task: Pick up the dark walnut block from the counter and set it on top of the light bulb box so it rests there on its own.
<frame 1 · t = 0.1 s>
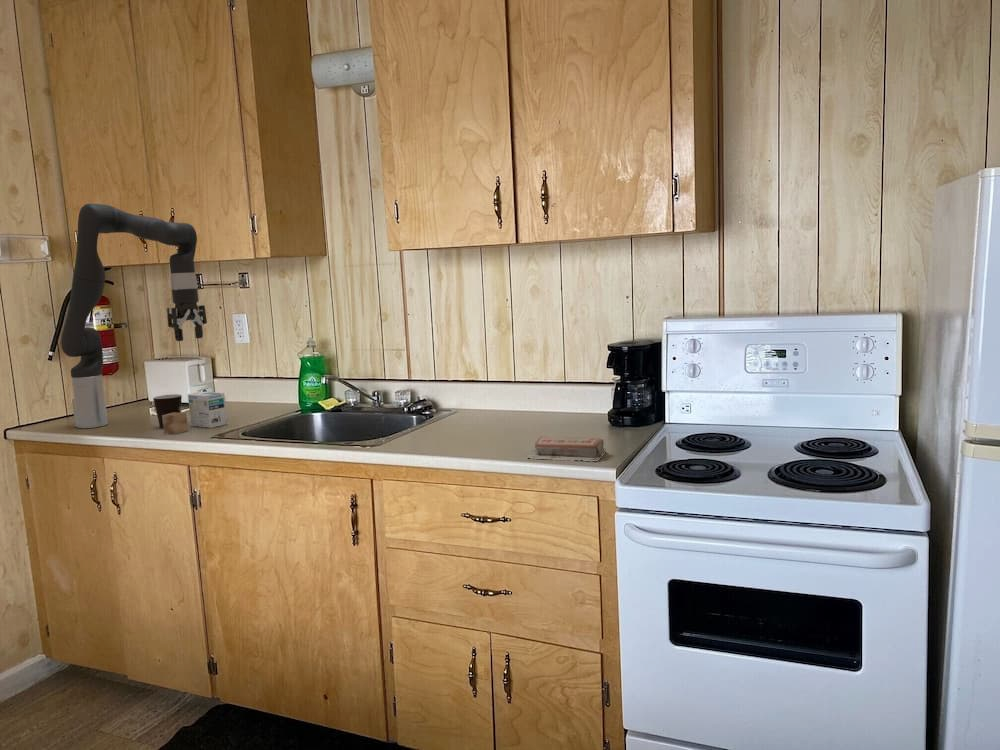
hand: (189, 339, 240), 29 cm above the worktop, tool pointing down, fingers open, 8 cm apart
coffee mug: (173, 426, 254), on the worktop
light bulb box: (209, 426, 251), on the worktop
walnut block: (176, 432, 242), on the worktop
packaged product: (567, 458, 189), on the worktop
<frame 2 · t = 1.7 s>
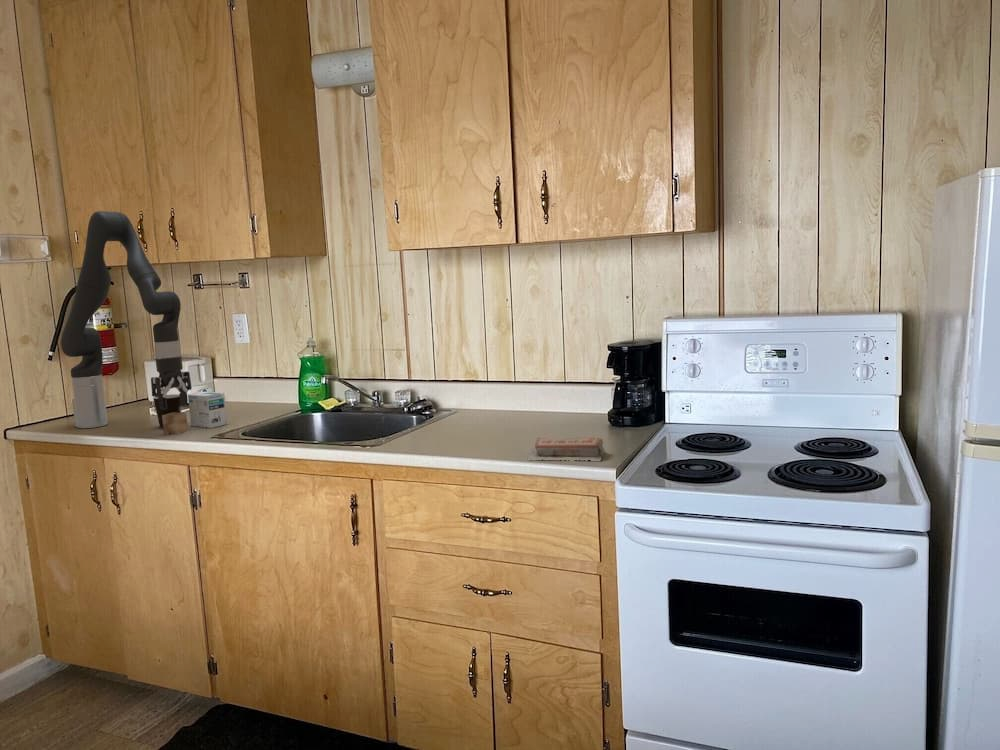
hand: (174, 407, 241), 8 cm above the worktop, tool pointing down, fingers open, 8 cm apart
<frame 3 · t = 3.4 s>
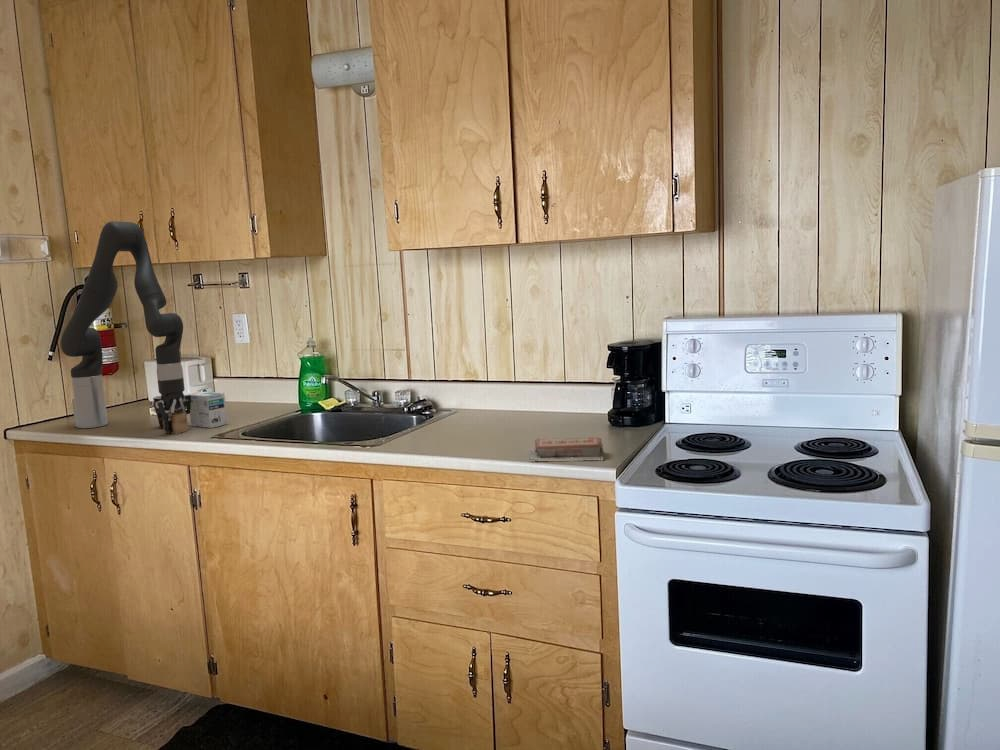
hand: (175, 430, 242), 1 cm above the worktop, tool pointing down, fingers closed on walnut block, 5 cm apart
walnut block: (176, 432, 242), on the worktop, touching gripper
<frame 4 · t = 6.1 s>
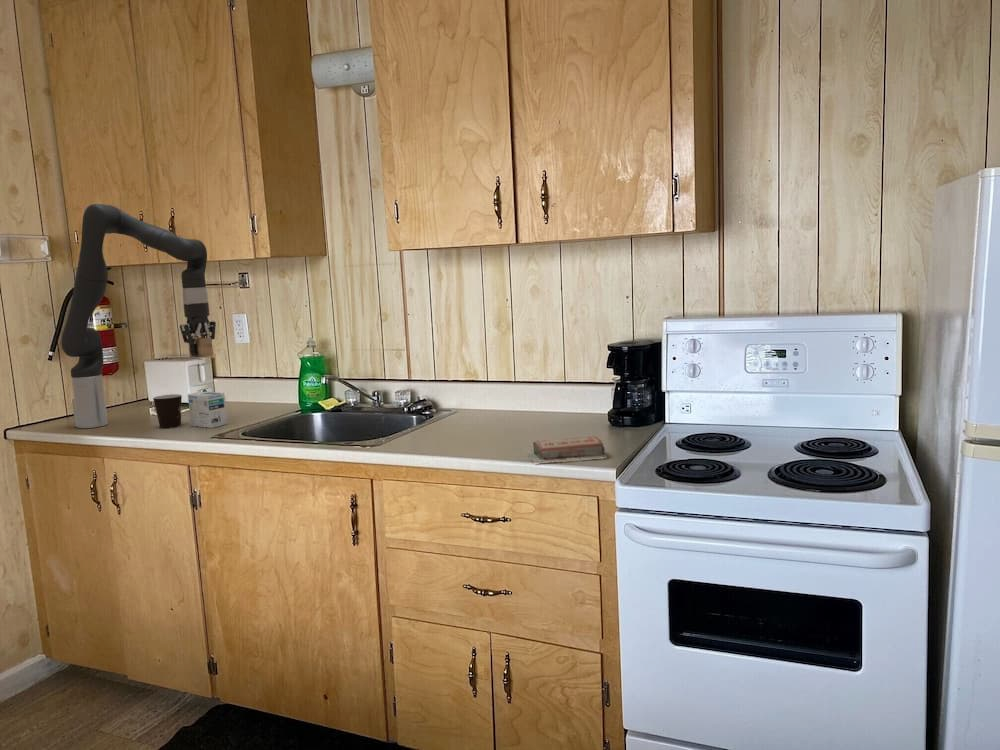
hand: (201, 354, 248), 24 cm above the worktop, tool pointing down, fingers closed on walnut block, 5 cm apart
walnut block: (201, 356, 248), point 23 cm above the worktop, touching gripper
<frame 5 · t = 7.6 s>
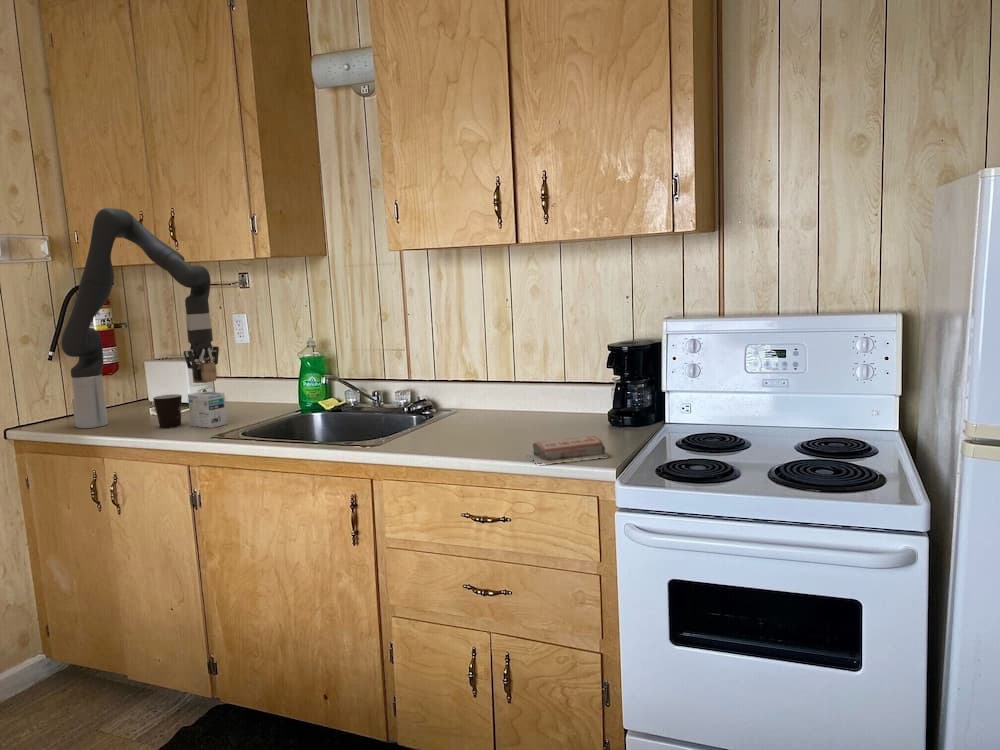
hand: (204, 379, 249), 15 cm above the worktop, tool pointing down, fingers closed on walnut block, 5 cm apart
walnut block: (205, 381, 249), point 14 cm above the worktop, touching gripper
when the fingers open (13 cm above the worktop, at t = 9.0 s): walnut block drops 1 cm, resting on light bulb box.
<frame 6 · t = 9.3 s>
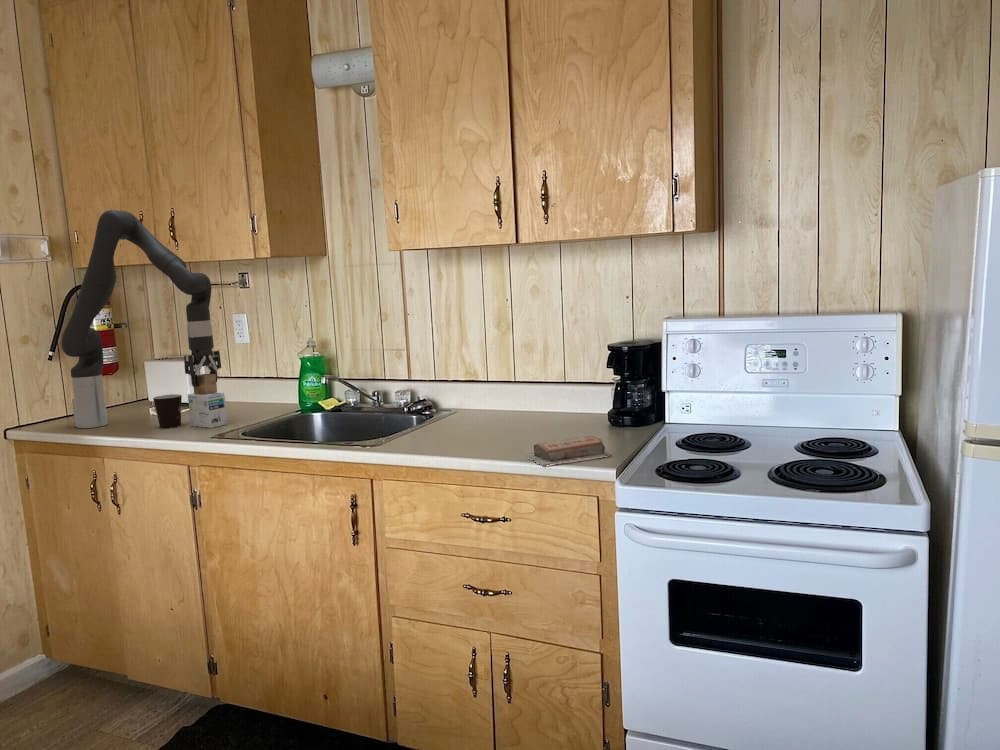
hand: (205, 384, 250), 14 cm above the worktop, tool pointing down, fingers open, 8 cm apart
light bulb box: (209, 426, 251), on the worktop, touching walnut block
walnut block: (205, 393, 250), point 11 cm above the worktop, touching light bulb box
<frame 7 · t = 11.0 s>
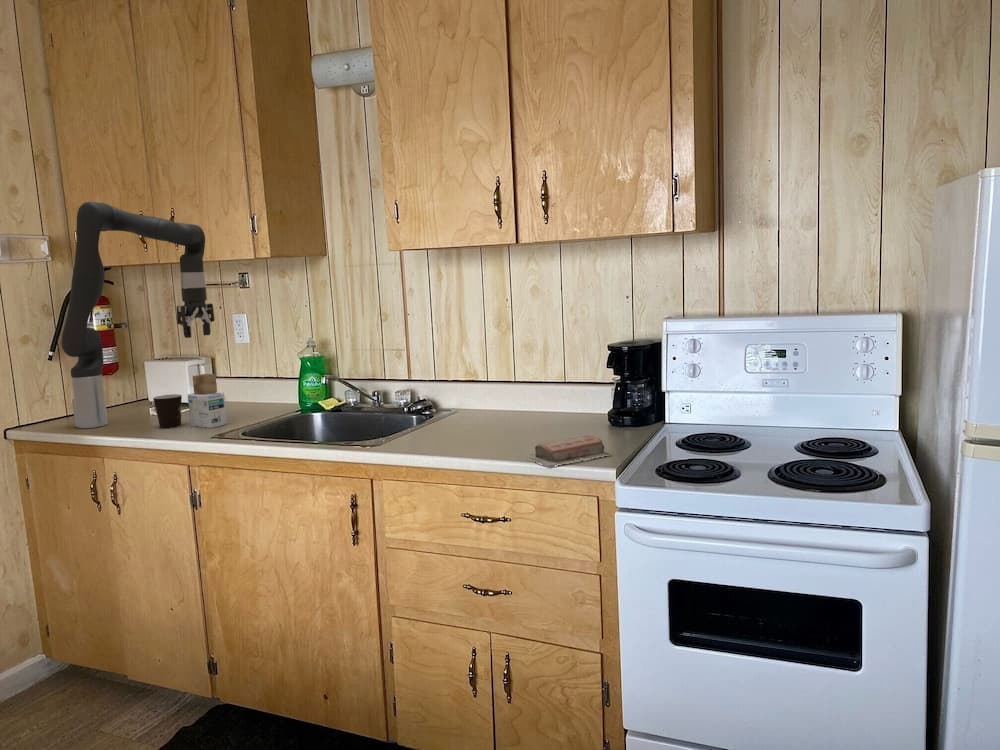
hand: (197, 336, 250), 29 cm above the worktop, tool pointing down, fingers open, 8 cm apart
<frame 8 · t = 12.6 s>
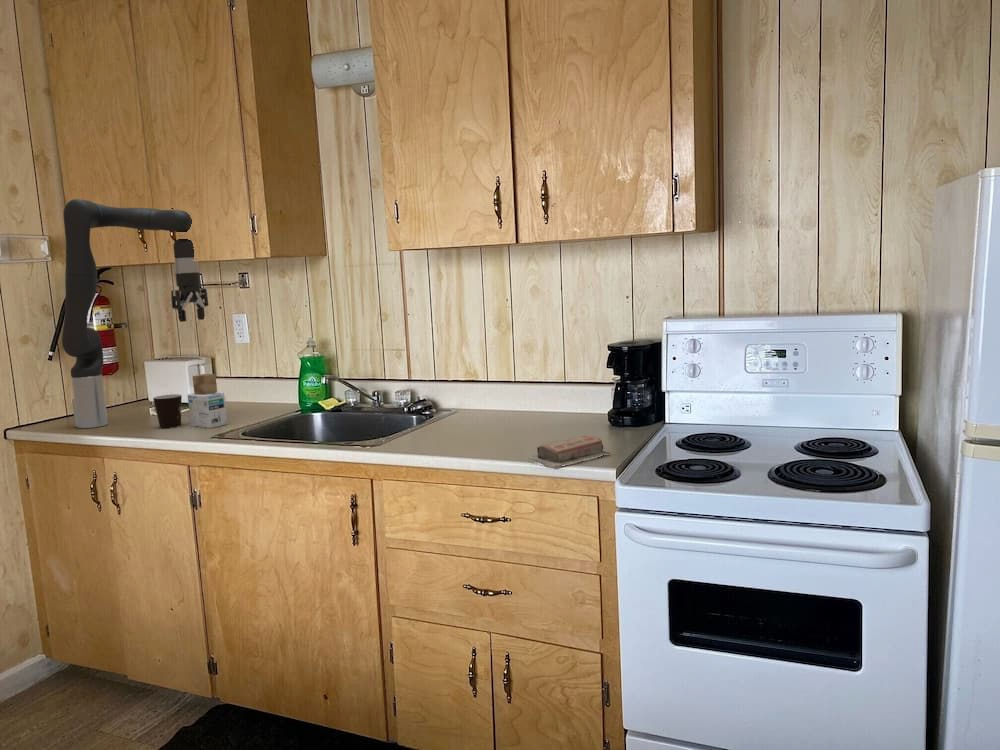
hand: (192, 320, 256), 34 cm above the worktop, tool pointing down, fingers open, 8 cm apart
at the end: walnut block point 10.7 cm above the worktop; walnut block 0.1 cm from the light bulb box (horizontally); the gripper is holding nothing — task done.
